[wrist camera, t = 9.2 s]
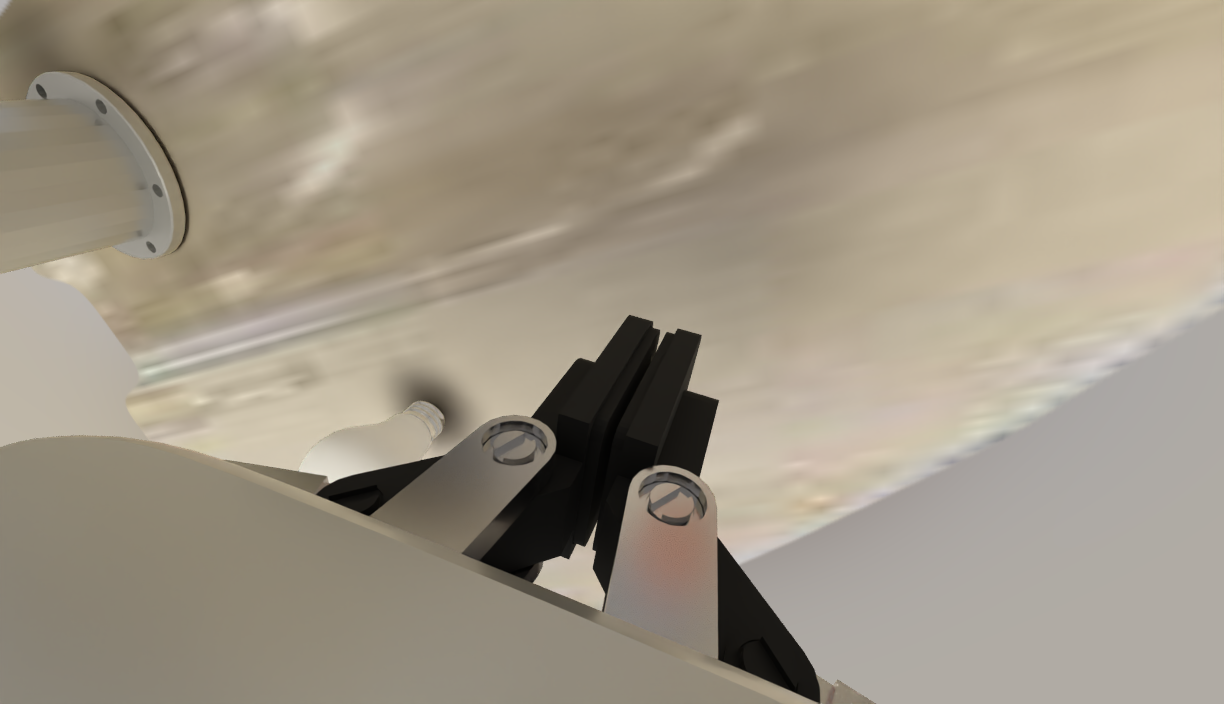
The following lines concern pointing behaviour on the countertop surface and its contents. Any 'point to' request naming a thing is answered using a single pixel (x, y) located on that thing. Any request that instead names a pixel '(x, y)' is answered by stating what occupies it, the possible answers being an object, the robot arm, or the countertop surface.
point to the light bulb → (376, 444)
